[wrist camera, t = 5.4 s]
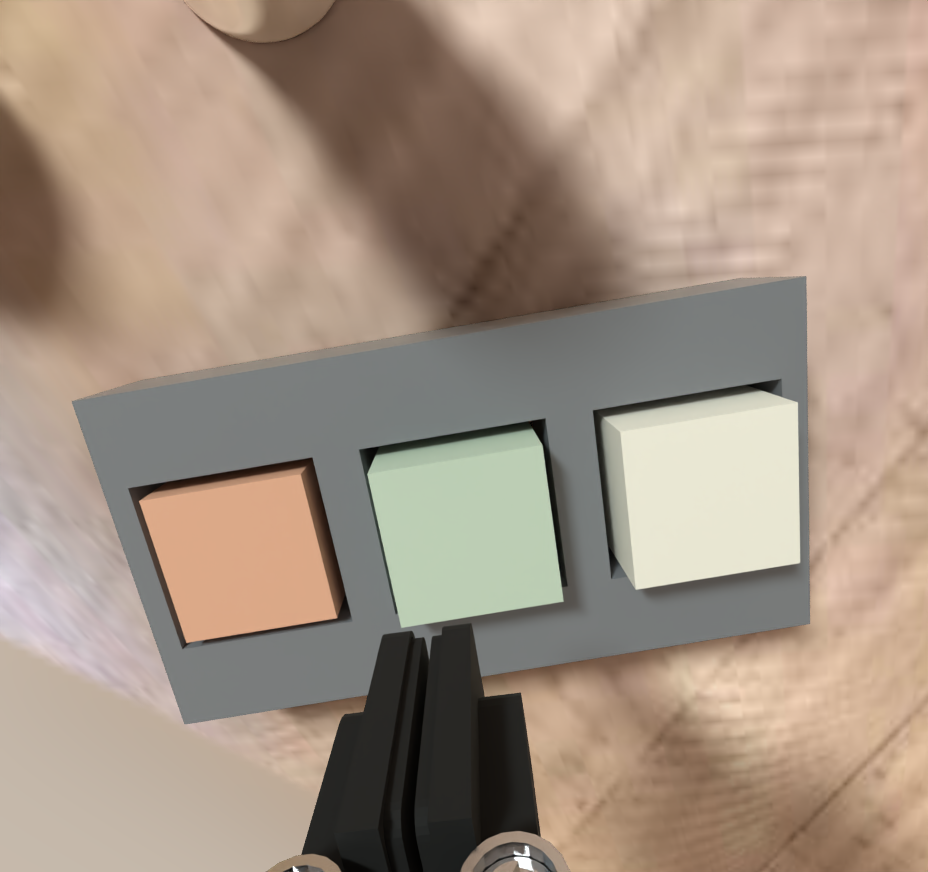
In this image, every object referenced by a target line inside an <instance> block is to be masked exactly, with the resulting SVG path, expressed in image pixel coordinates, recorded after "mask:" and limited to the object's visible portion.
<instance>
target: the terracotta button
mask: <svg viewBox="0 0 928 872" xmlns="http://www.w3.org/2000/svg"><path fill="white" fill-rule="evenodd" d="M139 502H140V505H141V508H142V511H143V514H144V517H145V520H146V523H147V526H148V529H149V532H150V535H151V538H152V541H153V544H154V547H155V550H156V553H157V556H158V559H159V562H160V565H161V568H162V571H163V574H164V577H165V580H166V583H167V586H168V589H169V592H170V595H171V598H172V601H173V604H174V607H175V610H176V613H177V616H178V619H179V622H180V625H181V628H182V631H183V634H184V637H185V640H186V643H188V642H194V641H201V640H207V639H213V638H219V637H225V636H231V635H237V634H243V633H250V632H256V631H262V630H268V629H274V628H280V627H286V626H292V625H299V624H305V623H311V622H317V621H323V620H329V619H335V618H337V617H338V614H339V611H340V608H341V605H342V602H343V599H344V596H345V593H346V592H345V588H344V584H343V580H342V576H341V572H340V568H339V564H338V560H337V556H336V552H335V547H334V543H333V539H332V535H331V531H330V527H329V523H328V519H327V515H326V511H325V507H324V503H323V499H322V494H321V490H320V486H319V482H318V478H317V474H316V470H315V466H314V462H313V458H312V457H311V458H305V459H299V460H293V461H287V462H281V463H275V464H270V465H264V466H258V467H252V468H246V469H240V470H234V471H228V472H222V473H216V474H210V475H204V476H198V477H192V478H186V479H180V480H174V481H168V482H166V483H165V484H163V485H162V486H160V487H159V488H157V489H156V490H154V491H153V492H152V493H150V494H149V495H147V496H146V497H144V498H143V499H142V500H140V501H139Z"/></svg>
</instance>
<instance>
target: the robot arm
mask: <svg viewBox="0 0 928 872" xmlns="http://www.w3.org/2000/svg"><path fill="white" fill-rule="evenodd" d="M267 872H570V870H569V868H568V866H567V864H566V862H565V860H564V858H563V856H562V854H561V853H560V852H559V851H558V850H557V849H556V848H555V847H554V846H553V845H552V844H551V843H550V842H549V841H547V840H545V839H543V838H541V835H540V827H539V819H538V811H537V804H536V796H535V788H534V780H533V773H532V765H531V758H530V751H529V744H528V737H527V730H526V723H525V717H524V710H523V703H522V697H521V693H514V694H506V695H498V696H490V697H484V691H483V685H482V679H481V673H480V668H479V662H478V656H477V650H476V644H475V638H474V632H473V627H472V624H471V623H467V624H459V625H451V626H444V627H442V635H437V636H432V640H431V649H430V659H429V655H428V650H427V645H426V641H425V638H424V637H421V638H415V635H414V633H413V631H405V632H397V633H390V634H384V635H383V636H382V638H381V642H380V647H379V651H378V655H377V659H376V663H375V667H374V671H373V676H372V680H371V684H370V688H369V692H368V696H367V700H366V705H365V709H364V712H360V713H352V714H345V715H344V716H343V717H342V719H341V721H340V724H339V727H338V730H337V733H336V737H335V740H334V744H333V747H332V751H331V754H330V758H329V761H328V765H327V768H326V771H325V775H324V778H323V782H322V785H321V789H320V792H319V796H318V799H317V803H316V806H315V809H314V813H313V816H312V820H311V823H310V827H309V830H308V834H307V837H306V840H305V844H304V847H303V851H302V854H301V855H298V856H294V857H292V858H289V859H287V860H284V861H282V862H280V863H278V864H277V865H275V866H274V867H272V868H271V869H269V870H268V871H267Z"/></svg>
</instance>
